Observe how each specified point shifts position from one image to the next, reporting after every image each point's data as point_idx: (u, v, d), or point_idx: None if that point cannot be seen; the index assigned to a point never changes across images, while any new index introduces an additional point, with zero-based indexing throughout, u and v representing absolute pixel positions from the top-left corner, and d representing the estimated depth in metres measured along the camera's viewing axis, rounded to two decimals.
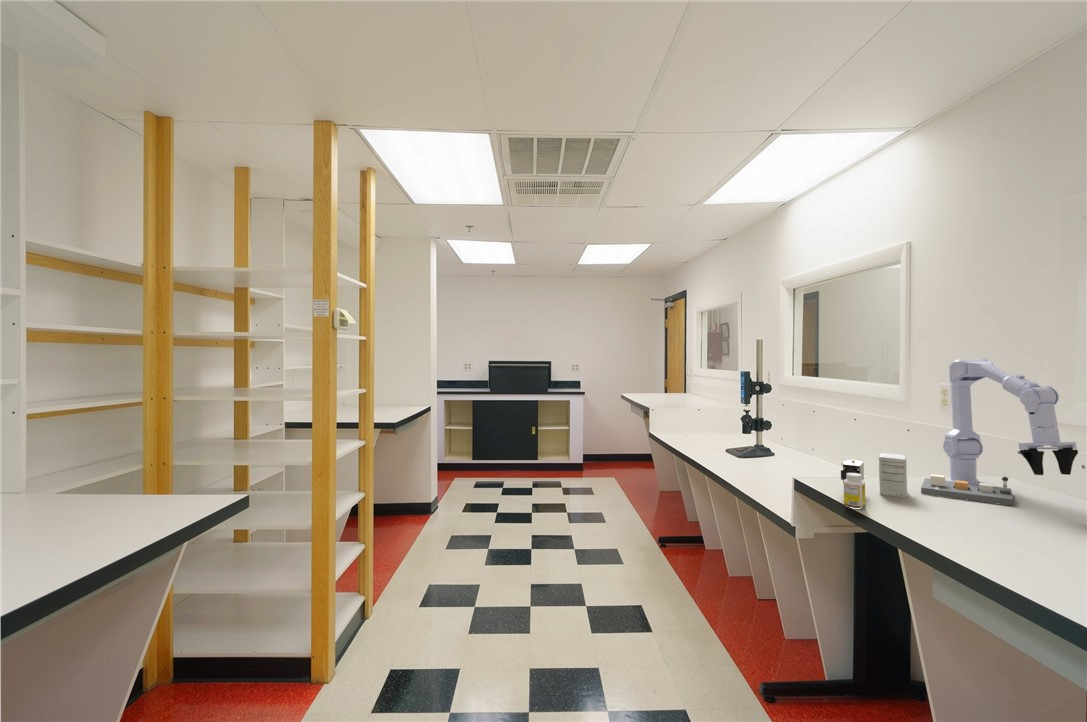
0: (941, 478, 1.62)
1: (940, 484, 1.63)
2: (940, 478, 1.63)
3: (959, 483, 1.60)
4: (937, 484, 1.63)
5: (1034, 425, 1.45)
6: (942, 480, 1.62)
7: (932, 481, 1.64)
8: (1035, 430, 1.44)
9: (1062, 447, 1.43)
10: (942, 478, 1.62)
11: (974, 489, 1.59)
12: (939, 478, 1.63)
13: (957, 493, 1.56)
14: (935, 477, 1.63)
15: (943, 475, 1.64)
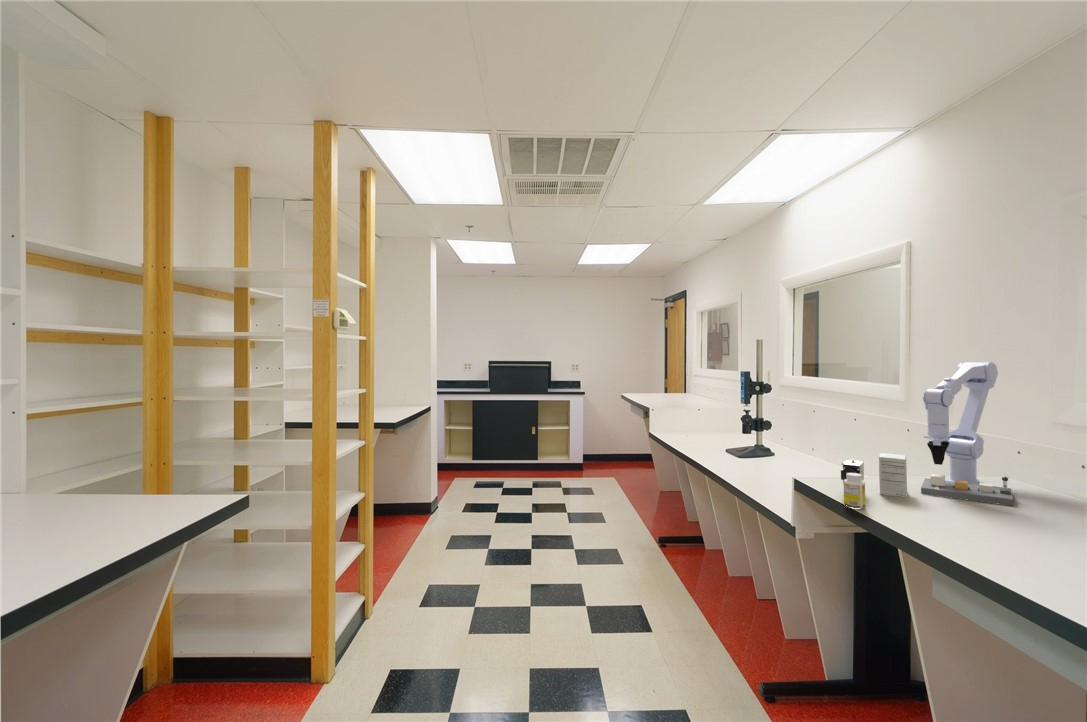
0: (941, 478, 1.62)
1: (940, 484, 1.63)
2: (940, 478, 1.63)
3: (959, 483, 1.60)
4: (937, 484, 1.63)
5: None
6: (942, 480, 1.62)
7: (932, 481, 1.64)
8: None
9: None
10: (942, 478, 1.62)
11: (974, 489, 1.59)
12: (939, 478, 1.63)
13: (957, 493, 1.56)
14: (935, 477, 1.63)
15: (943, 475, 1.64)
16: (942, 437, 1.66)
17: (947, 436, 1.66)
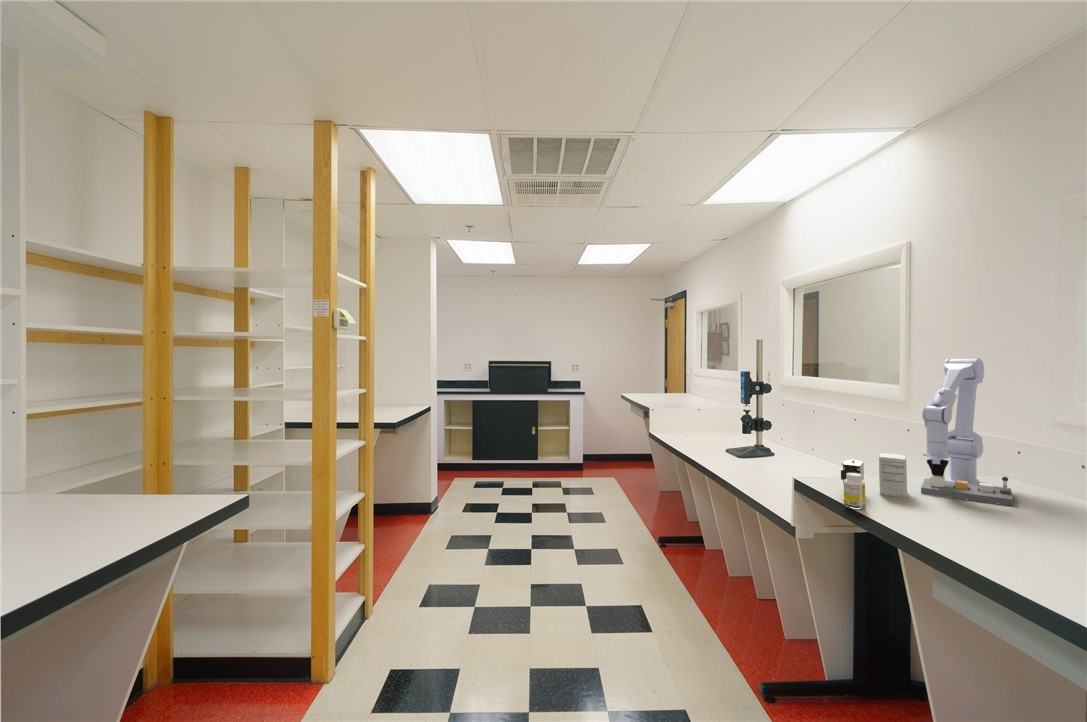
0: (941, 479, 1.61)
1: (940, 485, 1.62)
2: (940, 479, 1.61)
3: (959, 483, 1.60)
4: (937, 485, 1.62)
5: None
6: (942, 481, 1.61)
7: (931, 481, 1.63)
8: None
9: None
10: (942, 479, 1.61)
11: (974, 489, 1.59)
12: (939, 479, 1.62)
13: (957, 493, 1.56)
14: (935, 478, 1.62)
15: (943, 476, 1.63)
16: (941, 455, 1.62)
17: (946, 454, 1.62)
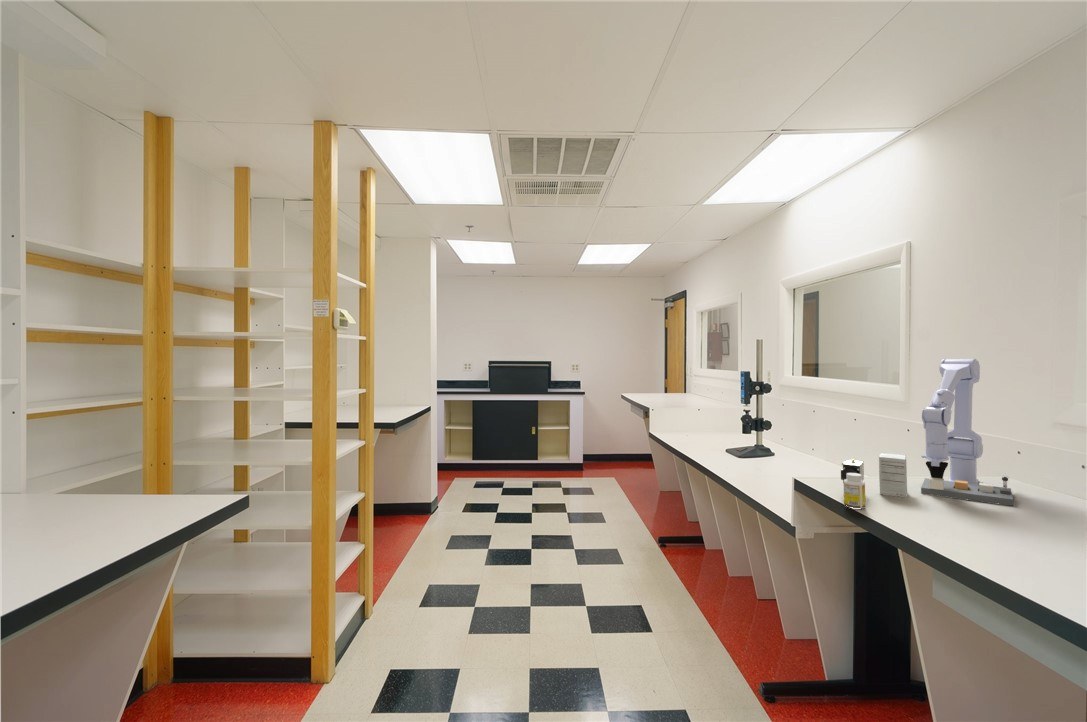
0: (940, 481, 1.58)
1: (939, 487, 1.59)
2: (939, 481, 1.59)
3: (959, 483, 1.60)
4: (936, 487, 1.59)
5: None
6: (941, 483, 1.58)
7: (930, 484, 1.60)
8: None
9: None
10: (941, 481, 1.58)
11: (974, 489, 1.59)
12: (938, 481, 1.59)
13: (957, 493, 1.56)
14: (934, 480, 1.60)
15: None
16: (941, 457, 1.59)
17: (946, 456, 1.60)
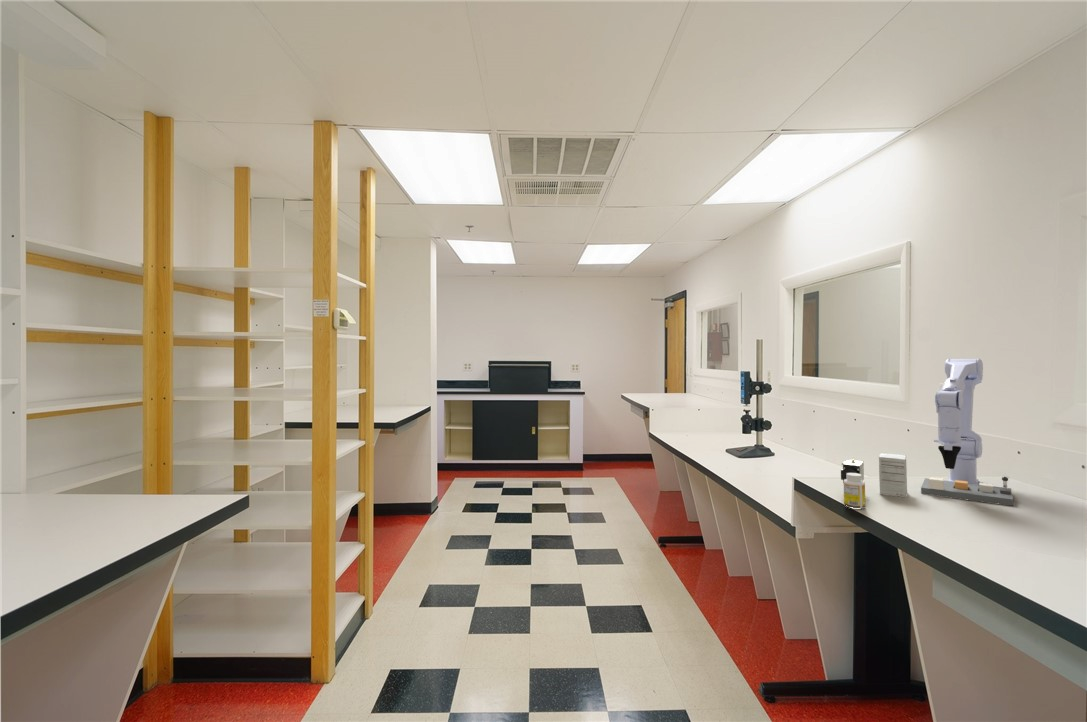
0: (940, 481, 1.58)
1: (939, 488, 1.59)
2: (939, 481, 1.59)
3: (959, 483, 1.60)
4: (936, 488, 1.59)
5: (938, 424, 1.63)
6: (941, 483, 1.58)
7: (930, 484, 1.60)
8: None
9: None
10: (941, 481, 1.58)
11: (974, 489, 1.59)
12: (938, 481, 1.59)
13: (957, 493, 1.56)
14: (934, 480, 1.59)
15: None
16: (953, 441, 1.59)
17: (959, 440, 1.59)
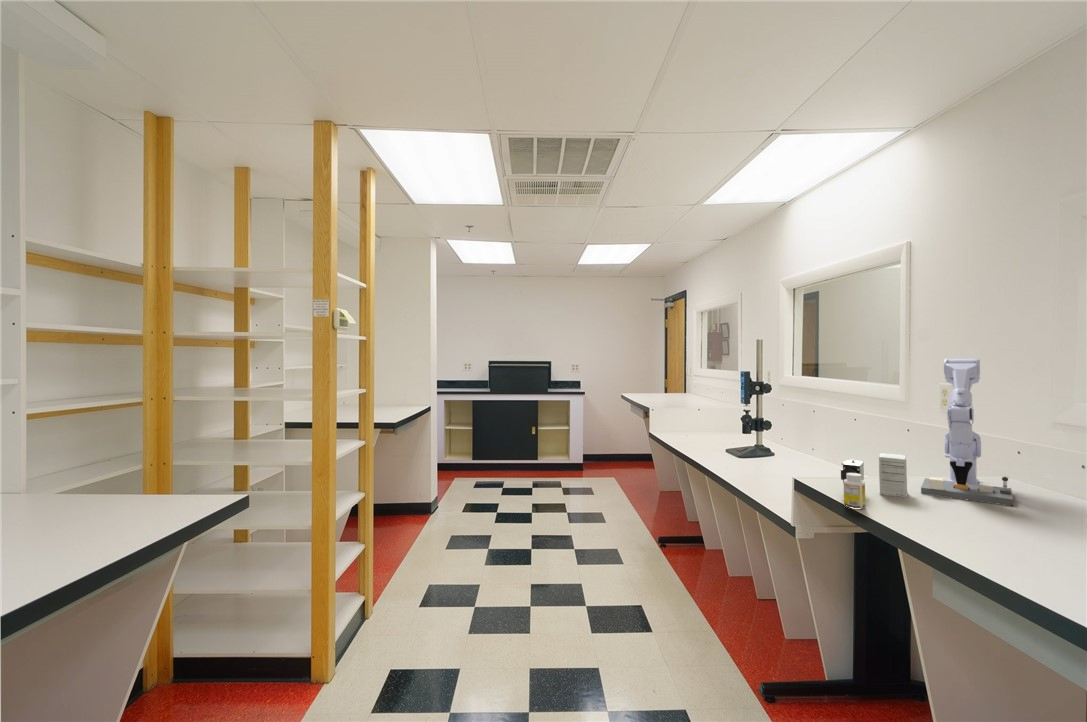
0: (940, 481, 1.58)
1: (939, 488, 1.59)
2: (939, 481, 1.59)
3: (959, 485, 1.60)
4: (936, 488, 1.59)
5: (949, 440, 1.62)
6: (941, 483, 1.58)
7: (930, 484, 1.60)
8: None
9: None
10: (941, 481, 1.58)
11: (974, 489, 1.59)
12: (938, 481, 1.59)
13: (957, 493, 1.56)
14: (934, 480, 1.59)
15: None
16: (965, 457, 1.58)
17: (970, 456, 1.58)
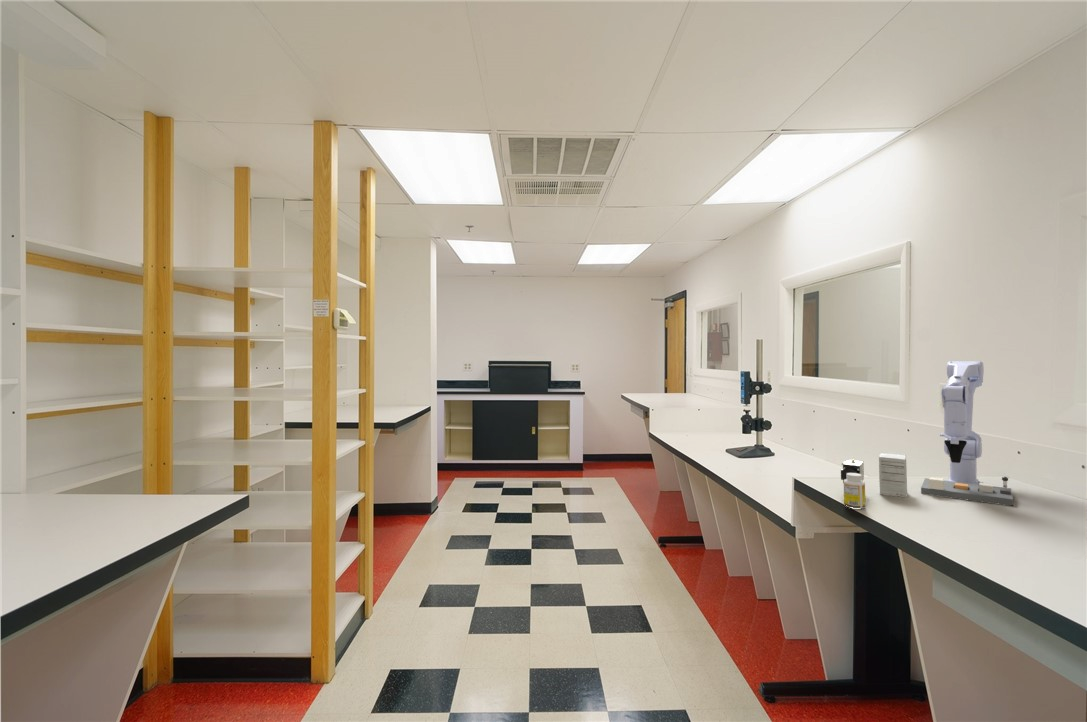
0: (940, 481, 1.58)
1: (939, 488, 1.59)
2: (939, 481, 1.59)
3: (959, 486, 1.60)
4: (936, 488, 1.59)
5: None
6: (941, 483, 1.58)
7: (930, 484, 1.60)
8: None
9: None
10: (941, 481, 1.58)
11: (974, 489, 1.59)
12: (938, 481, 1.59)
13: (957, 493, 1.56)
14: (934, 480, 1.59)
15: None
16: (960, 435, 1.61)
17: (965, 434, 1.61)
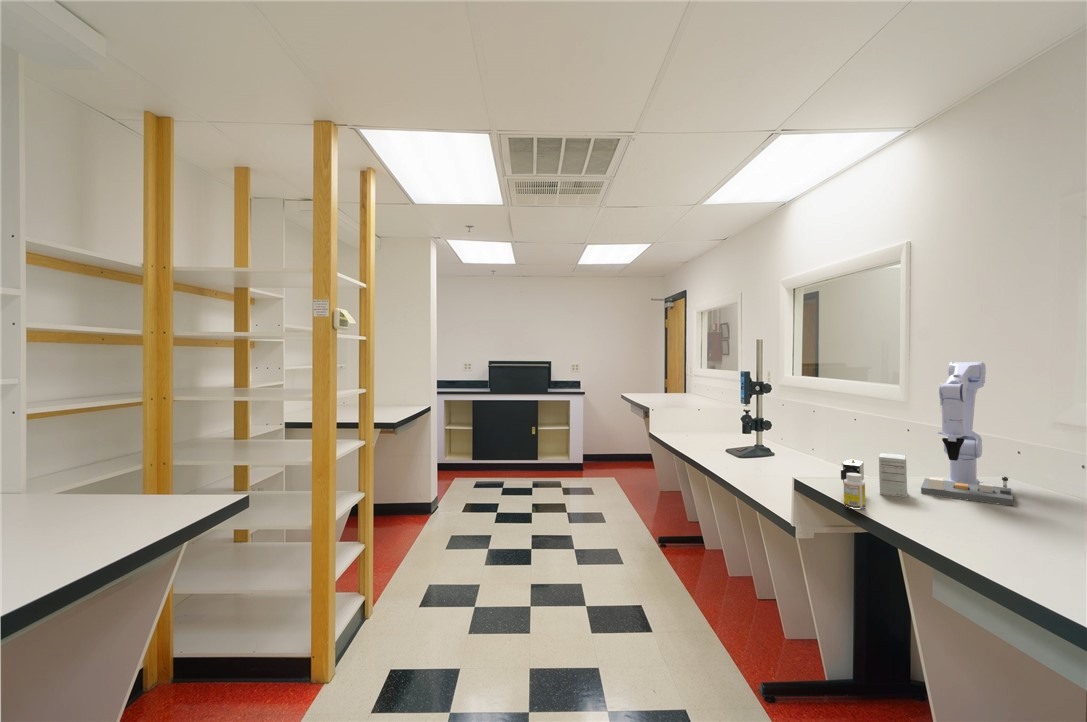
0: (940, 481, 1.58)
1: (939, 488, 1.59)
2: (939, 481, 1.59)
3: (959, 486, 1.60)
4: (936, 488, 1.59)
5: None
6: (941, 483, 1.58)
7: (930, 484, 1.60)
8: None
9: None
10: (941, 481, 1.58)
11: (974, 489, 1.59)
12: (938, 481, 1.59)
13: (957, 493, 1.56)
14: (934, 480, 1.59)
15: None
16: (957, 433, 1.61)
17: (962, 432, 1.62)
